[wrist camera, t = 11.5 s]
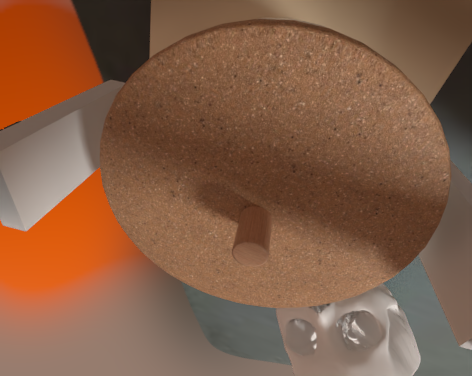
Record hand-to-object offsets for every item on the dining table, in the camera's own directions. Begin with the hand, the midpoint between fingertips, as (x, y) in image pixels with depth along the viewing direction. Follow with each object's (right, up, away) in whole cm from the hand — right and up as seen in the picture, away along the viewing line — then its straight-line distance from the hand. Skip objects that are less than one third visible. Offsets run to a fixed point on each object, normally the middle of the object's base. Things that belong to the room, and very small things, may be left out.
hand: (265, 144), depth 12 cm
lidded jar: (+1, +2, +3) cm, 3 cm away
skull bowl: (+9, -11, +16) cm, 21 cm away
